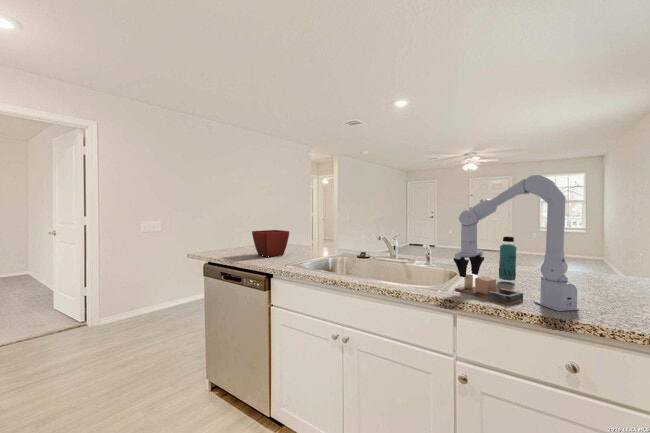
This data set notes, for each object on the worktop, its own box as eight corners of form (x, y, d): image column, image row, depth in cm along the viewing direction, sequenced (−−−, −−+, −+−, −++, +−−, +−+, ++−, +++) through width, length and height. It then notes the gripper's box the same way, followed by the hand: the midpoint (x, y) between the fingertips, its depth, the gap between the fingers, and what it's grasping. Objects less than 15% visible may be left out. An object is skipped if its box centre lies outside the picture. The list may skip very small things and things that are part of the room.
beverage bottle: (495, 281, 135) (496, 236, 135) (505, 280, 138) (506, 235, 137) (508, 284, 129) (509, 237, 129) (519, 283, 132) (520, 237, 131)
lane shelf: (523, 301, 107) (523, 293, 107) (509, 305, 103) (509, 296, 103) (468, 287, 126) (468, 280, 126) (455, 290, 122) (455, 283, 122)
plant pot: (275, 252, 223) (275, 229, 222) (290, 255, 208) (290, 231, 207) (251, 255, 210) (251, 230, 210) (265, 259, 196) (264, 232, 195)
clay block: (495, 292, 114) (496, 279, 114) (487, 294, 112) (487, 281, 111) (469, 286, 124) (469, 273, 123) (461, 287, 121) (461, 275, 121)
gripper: (471, 239, 128) (471, 271, 128) (448, 241, 120) (447, 275, 121) (487, 240, 121) (487, 274, 122) (464, 243, 114) (463, 279, 115)
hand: (468, 275), depth 121 cm, fingers open, 7 cm apart
